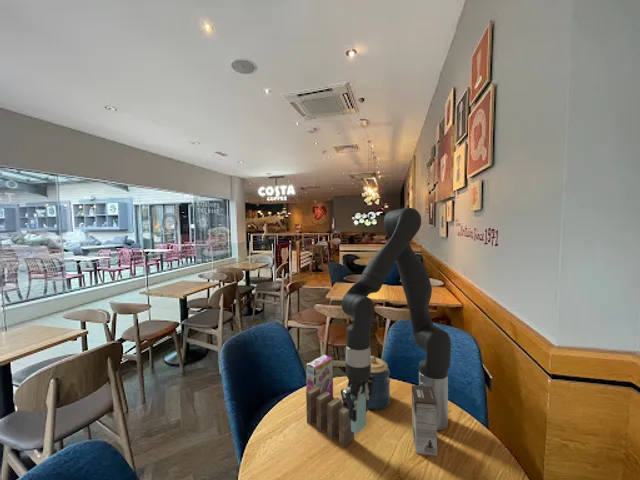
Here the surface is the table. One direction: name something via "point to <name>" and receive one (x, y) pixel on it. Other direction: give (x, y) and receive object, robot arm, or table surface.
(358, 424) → the domino
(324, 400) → the domino
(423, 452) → the coffee box
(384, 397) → the canister
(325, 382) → the candy bar box
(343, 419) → the domino
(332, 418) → the domino
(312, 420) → the domino
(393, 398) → the table surface
